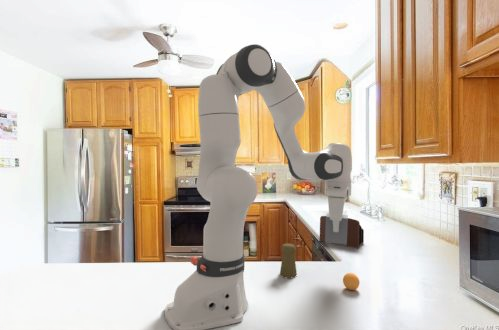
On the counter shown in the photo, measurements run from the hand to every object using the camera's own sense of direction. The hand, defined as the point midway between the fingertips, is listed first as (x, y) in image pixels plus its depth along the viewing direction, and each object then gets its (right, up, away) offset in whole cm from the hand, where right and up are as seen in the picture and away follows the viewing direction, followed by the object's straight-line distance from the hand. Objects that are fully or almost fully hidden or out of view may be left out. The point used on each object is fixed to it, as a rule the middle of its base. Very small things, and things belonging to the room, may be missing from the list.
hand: (336, 229), depth 95 cm
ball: (+2, -15, -8) cm, 17 cm away
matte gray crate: (0, -4, 0) cm, 4 cm away
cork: (-17, -17, +3) cm, 24 cm away
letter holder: (+17, -18, +45) cm, 51 cm away
